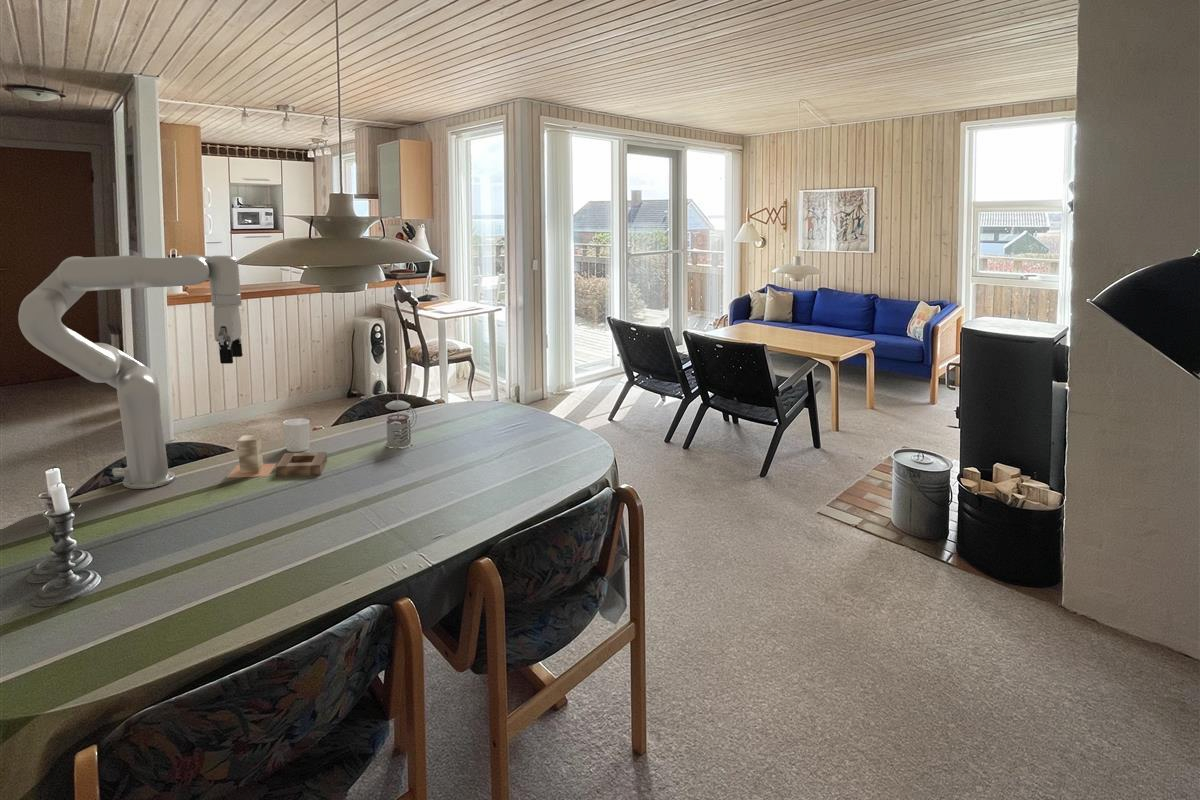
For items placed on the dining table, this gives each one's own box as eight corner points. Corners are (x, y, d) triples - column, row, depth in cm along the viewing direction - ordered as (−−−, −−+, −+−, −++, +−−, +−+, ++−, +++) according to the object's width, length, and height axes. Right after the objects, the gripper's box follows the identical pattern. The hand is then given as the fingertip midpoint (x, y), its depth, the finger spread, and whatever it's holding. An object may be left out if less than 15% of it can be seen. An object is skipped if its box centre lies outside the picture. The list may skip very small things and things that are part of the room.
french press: (378, 444, 244) (375, 371, 237) (407, 437, 252) (405, 367, 246) (395, 451, 237) (392, 376, 231) (424, 443, 246) (422, 372, 240)
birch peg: (240, 473, 210) (237, 440, 207) (245, 467, 214) (242, 435, 212) (258, 472, 211) (256, 440, 208) (263, 467, 215) (260, 435, 213)
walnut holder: (277, 479, 209) (276, 466, 208) (285, 465, 220) (284, 453, 219) (321, 478, 211) (320, 465, 210) (327, 464, 222) (326, 452, 222)
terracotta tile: (226, 480, 206) (226, 477, 206) (237, 467, 217) (237, 464, 217) (268, 479, 209) (267, 476, 208) (276, 466, 219) (276, 463, 219)
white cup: (316, 450, 235) (314, 421, 232) (294, 456, 228) (292, 426, 226) (301, 446, 239) (299, 416, 236) (279, 451, 232) (277, 422, 230)
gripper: (221, 296, 211) (226, 354, 215) (202, 303, 194) (208, 366, 199) (248, 297, 212) (253, 354, 216) (232, 304, 196) (237, 366, 200)
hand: (231, 359), depth 207 cm, fingers open, 9 cm apart
